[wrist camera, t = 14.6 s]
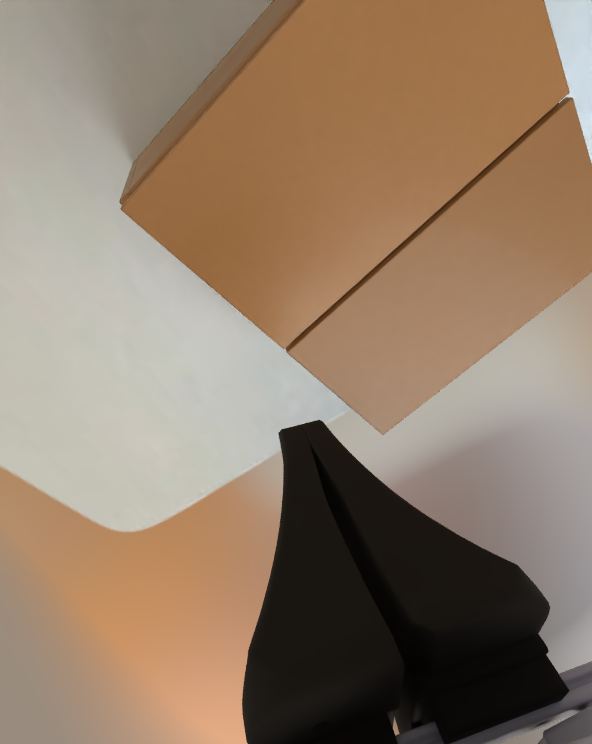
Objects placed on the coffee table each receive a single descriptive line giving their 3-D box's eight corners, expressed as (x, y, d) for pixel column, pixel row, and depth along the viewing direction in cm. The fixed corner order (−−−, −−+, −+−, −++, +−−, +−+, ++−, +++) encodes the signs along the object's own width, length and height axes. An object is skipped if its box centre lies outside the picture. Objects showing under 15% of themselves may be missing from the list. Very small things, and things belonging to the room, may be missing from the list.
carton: (132, 164, 17) (116, 208, 11) (359, -99, 14) (487, -214, 9) (333, 354, 25) (383, 436, 19) (502, 207, 22) (618, 253, 16)
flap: (120, 206, 11) (120, 209, 11) (478, -199, 9) (487, -207, 9) (281, 345, 15) (283, 349, 15) (562, 92, 13) (570, 92, 12)
